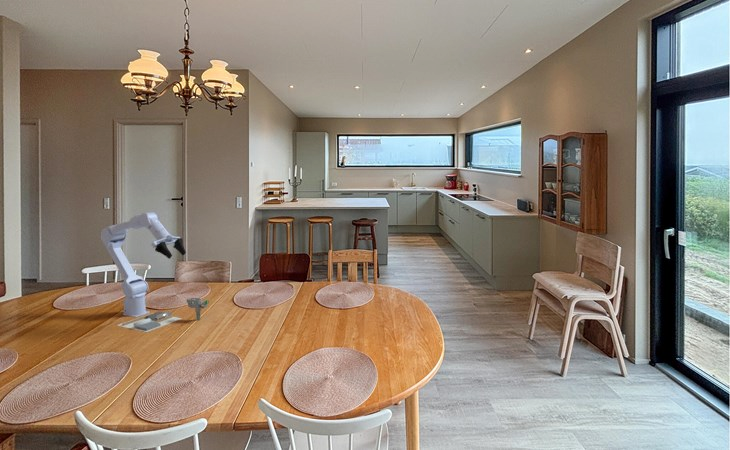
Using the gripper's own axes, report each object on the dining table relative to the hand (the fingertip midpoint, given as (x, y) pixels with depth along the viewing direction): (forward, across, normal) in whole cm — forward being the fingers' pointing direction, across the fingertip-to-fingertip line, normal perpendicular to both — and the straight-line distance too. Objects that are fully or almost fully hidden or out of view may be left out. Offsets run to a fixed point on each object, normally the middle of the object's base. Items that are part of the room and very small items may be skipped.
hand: (177, 255), depth 193 cm
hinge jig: (+12, -7, +31) cm, 34 cm away
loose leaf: (+11, -1, +32) cm, 33 cm away
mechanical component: (+25, +4, +19) cm, 32 cm away
